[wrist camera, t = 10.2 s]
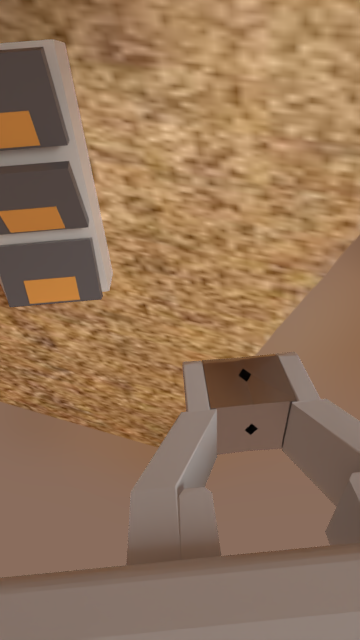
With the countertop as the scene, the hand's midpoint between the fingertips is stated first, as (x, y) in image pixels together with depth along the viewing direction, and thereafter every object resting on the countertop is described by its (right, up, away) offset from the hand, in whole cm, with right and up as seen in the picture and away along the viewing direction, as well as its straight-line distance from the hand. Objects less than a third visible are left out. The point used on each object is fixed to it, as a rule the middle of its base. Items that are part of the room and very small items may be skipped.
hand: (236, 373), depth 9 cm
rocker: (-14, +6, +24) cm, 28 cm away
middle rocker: (-15, +12, +20) cm, 27 cm away
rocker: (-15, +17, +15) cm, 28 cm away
